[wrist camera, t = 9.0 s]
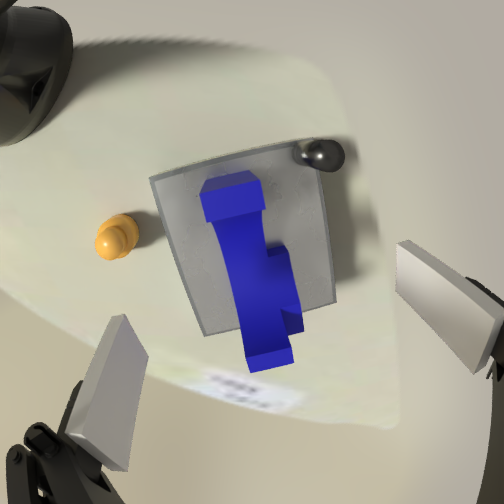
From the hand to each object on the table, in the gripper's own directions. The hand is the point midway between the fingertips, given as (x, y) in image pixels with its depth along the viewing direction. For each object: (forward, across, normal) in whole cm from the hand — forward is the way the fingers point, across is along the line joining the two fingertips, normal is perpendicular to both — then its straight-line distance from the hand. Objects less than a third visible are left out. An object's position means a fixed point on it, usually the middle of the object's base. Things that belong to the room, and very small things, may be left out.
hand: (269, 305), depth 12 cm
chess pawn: (+13, -11, +2) cm, 17 cm away
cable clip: (+9, 0, -1) cm, 9 cm away
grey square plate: (+13, 0, -1) cm, 13 cm away
